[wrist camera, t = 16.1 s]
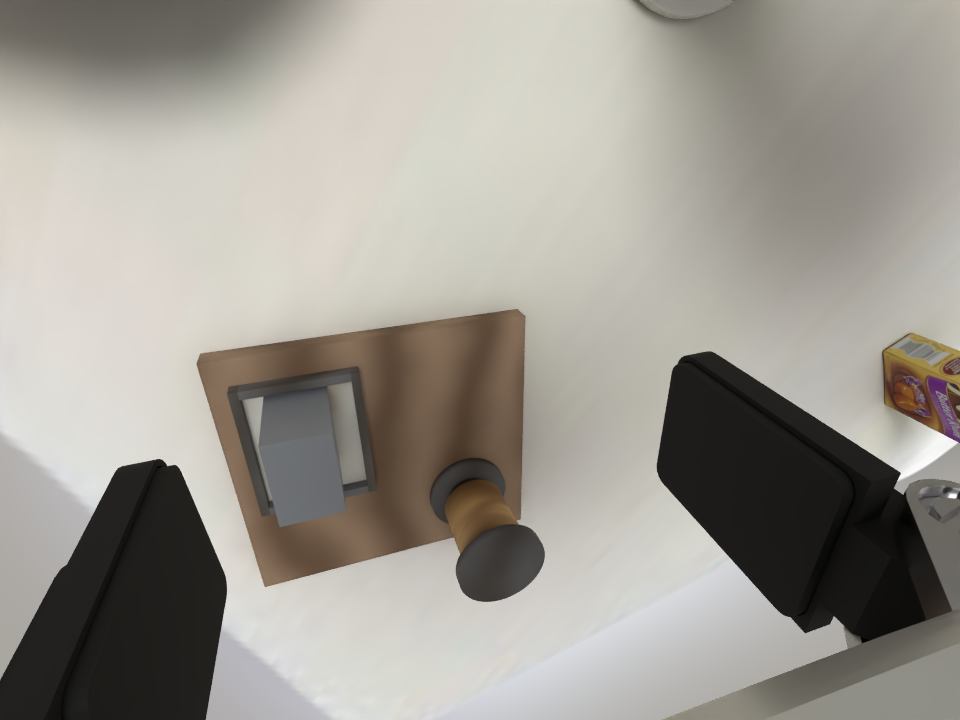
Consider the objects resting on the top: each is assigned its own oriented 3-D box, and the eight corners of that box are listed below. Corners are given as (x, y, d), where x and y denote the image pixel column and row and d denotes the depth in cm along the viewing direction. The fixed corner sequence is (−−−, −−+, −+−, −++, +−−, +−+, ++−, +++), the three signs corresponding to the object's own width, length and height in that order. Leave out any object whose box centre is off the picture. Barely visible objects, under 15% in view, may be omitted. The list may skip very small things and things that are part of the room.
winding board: (517, 309, 38) (582, 366, 30) (514, 508, 47) (563, 596, 39) (200, 353, 32) (166, 441, 24) (265, 572, 41) (258, 693, 33)
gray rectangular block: (326, 384, 34) (332, 432, 29) (338, 456, 37) (346, 511, 32) (263, 395, 33) (258, 447, 28) (281, 467, 36) (279, 527, 31)
